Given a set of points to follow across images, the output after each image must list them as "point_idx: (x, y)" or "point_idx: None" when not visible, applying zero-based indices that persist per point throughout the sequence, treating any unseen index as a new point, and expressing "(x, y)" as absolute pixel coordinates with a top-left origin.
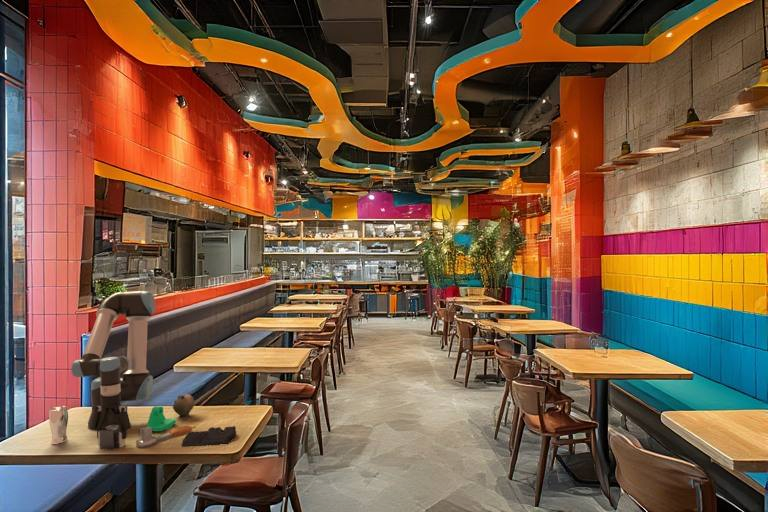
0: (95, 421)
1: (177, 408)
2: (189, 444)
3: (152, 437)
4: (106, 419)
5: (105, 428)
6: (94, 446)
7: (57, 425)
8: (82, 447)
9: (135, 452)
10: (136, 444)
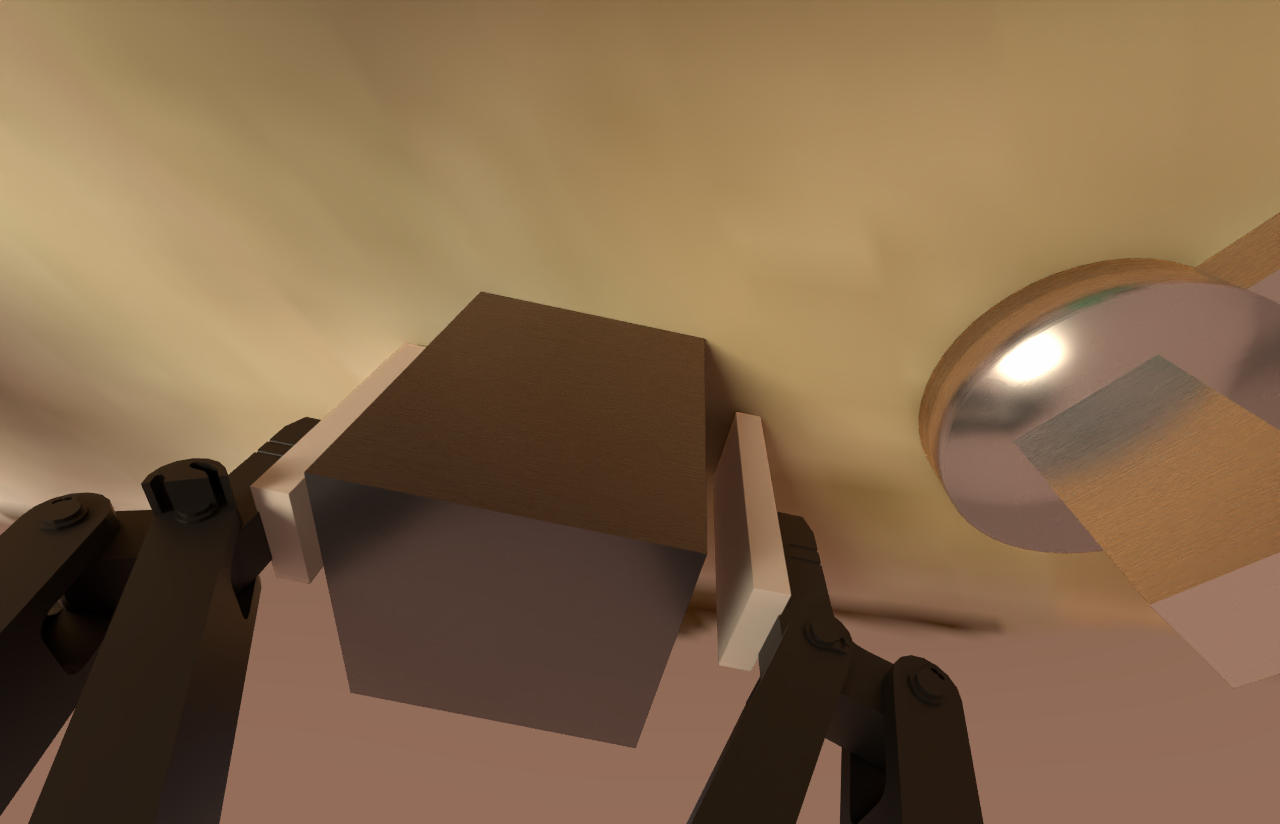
0: (10, 775)
1: None
2: None
3: (1239, 361)
4: (172, 749)
5: (388, 642)
6: (337, 381)
7: None
8: (210, 392)
9: (951, 596)
10: (943, 486)
